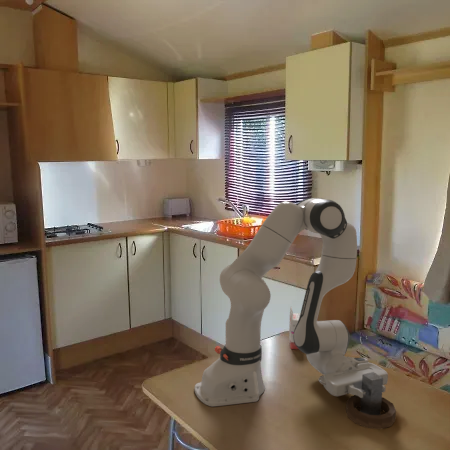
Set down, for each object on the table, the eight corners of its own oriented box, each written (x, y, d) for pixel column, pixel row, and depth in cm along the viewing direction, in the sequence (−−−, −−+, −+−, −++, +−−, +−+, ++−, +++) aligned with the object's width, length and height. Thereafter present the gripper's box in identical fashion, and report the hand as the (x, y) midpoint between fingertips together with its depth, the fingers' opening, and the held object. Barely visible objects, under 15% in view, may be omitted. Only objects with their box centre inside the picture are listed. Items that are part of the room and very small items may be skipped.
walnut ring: (367, 433, 128) (368, 422, 128) (337, 408, 140) (337, 399, 140) (404, 421, 134) (405, 412, 133) (372, 399, 145) (373, 390, 145)
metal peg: (369, 420, 134) (372, 380, 132) (360, 413, 138) (362, 374, 136) (380, 417, 136) (383, 378, 134) (370, 410, 139) (373, 372, 138)
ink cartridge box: (303, 349, 181) (304, 313, 179) (290, 349, 182) (291, 312, 179) (301, 340, 190) (302, 305, 188) (288, 340, 190) (289, 305, 188)
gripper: (315, 368, 143) (344, 389, 130) (369, 356, 151) (401, 375, 138) (314, 387, 144) (343, 410, 131) (368, 375, 152) (400, 395, 139)
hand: (373, 392), depth 135 cm, fingers open, 6 cm apart
